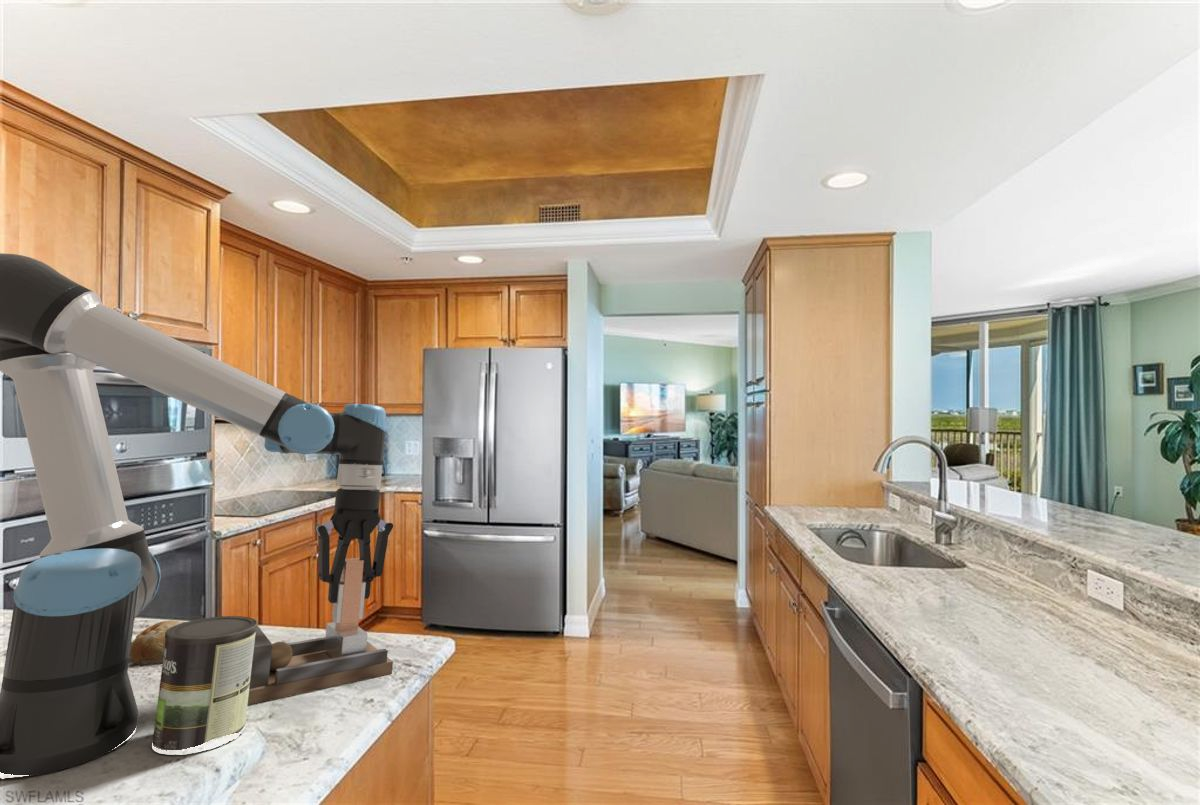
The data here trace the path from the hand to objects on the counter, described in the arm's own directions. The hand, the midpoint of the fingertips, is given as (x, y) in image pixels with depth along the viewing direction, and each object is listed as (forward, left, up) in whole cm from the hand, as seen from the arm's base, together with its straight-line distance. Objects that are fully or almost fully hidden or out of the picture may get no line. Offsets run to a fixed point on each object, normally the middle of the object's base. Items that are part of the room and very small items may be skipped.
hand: (347, 619), depth 98 cm
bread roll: (-24, +25, -9) cm, 36 cm away
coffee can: (-22, -14, -9) cm, 27 cm away
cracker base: (-5, 0, -9) cm, 10 cm away
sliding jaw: (0, 0, -6) cm, 6 cm away
